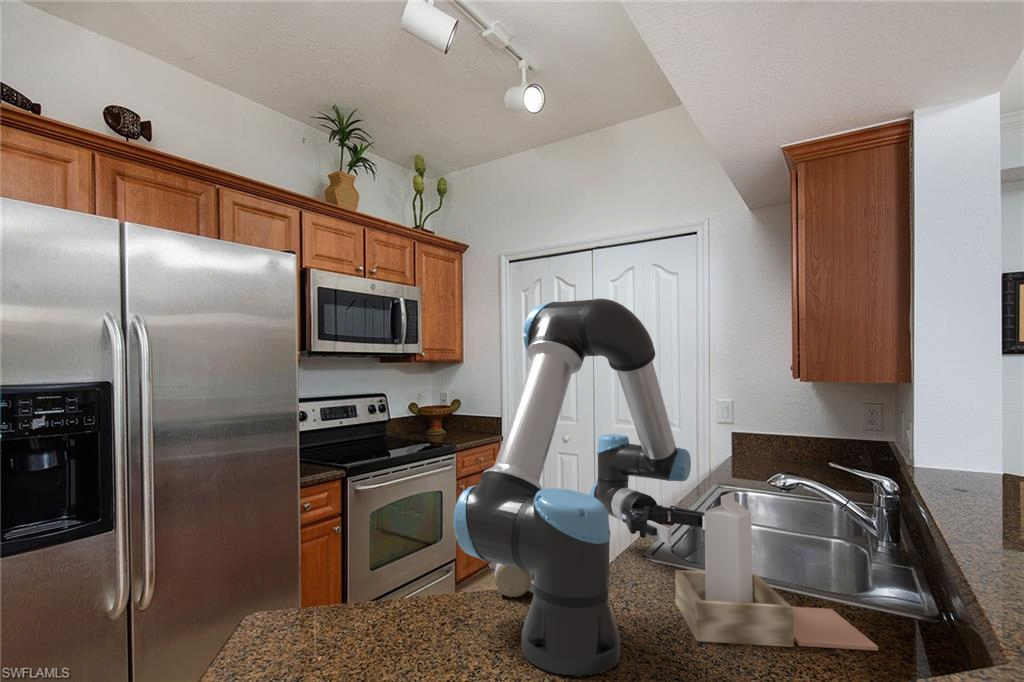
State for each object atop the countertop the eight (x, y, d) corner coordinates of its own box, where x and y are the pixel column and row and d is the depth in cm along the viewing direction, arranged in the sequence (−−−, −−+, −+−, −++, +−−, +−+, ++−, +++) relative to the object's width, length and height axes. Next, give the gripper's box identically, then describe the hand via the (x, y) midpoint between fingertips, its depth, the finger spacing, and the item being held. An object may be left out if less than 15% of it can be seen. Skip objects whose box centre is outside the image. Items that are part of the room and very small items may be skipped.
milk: (705, 623, 90) (703, 493, 92) (719, 612, 95) (716, 489, 97) (741, 634, 86) (738, 499, 88) (754, 623, 91) (750, 494, 92)
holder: (697, 641, 84) (696, 602, 84) (675, 602, 99) (675, 569, 99) (794, 647, 82) (793, 607, 83) (757, 607, 97) (756, 573, 98)
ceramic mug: (492, 599, 98) (494, 557, 99) (496, 582, 107) (497, 544, 107) (548, 602, 98) (550, 560, 99) (548, 585, 106) (549, 547, 107)
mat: (799, 645, 83) (798, 641, 83) (763, 608, 97) (763, 605, 97) (878, 650, 82) (878, 646, 82) (831, 612, 96) (831, 608, 96)
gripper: (680, 521, 123) (749, 548, 103) (586, 529, 114) (643, 560, 95) (679, 488, 124) (749, 509, 104) (587, 494, 115) (643, 518, 95)
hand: (699, 533), depth 99 cm, fingers open, 13 cm apart
